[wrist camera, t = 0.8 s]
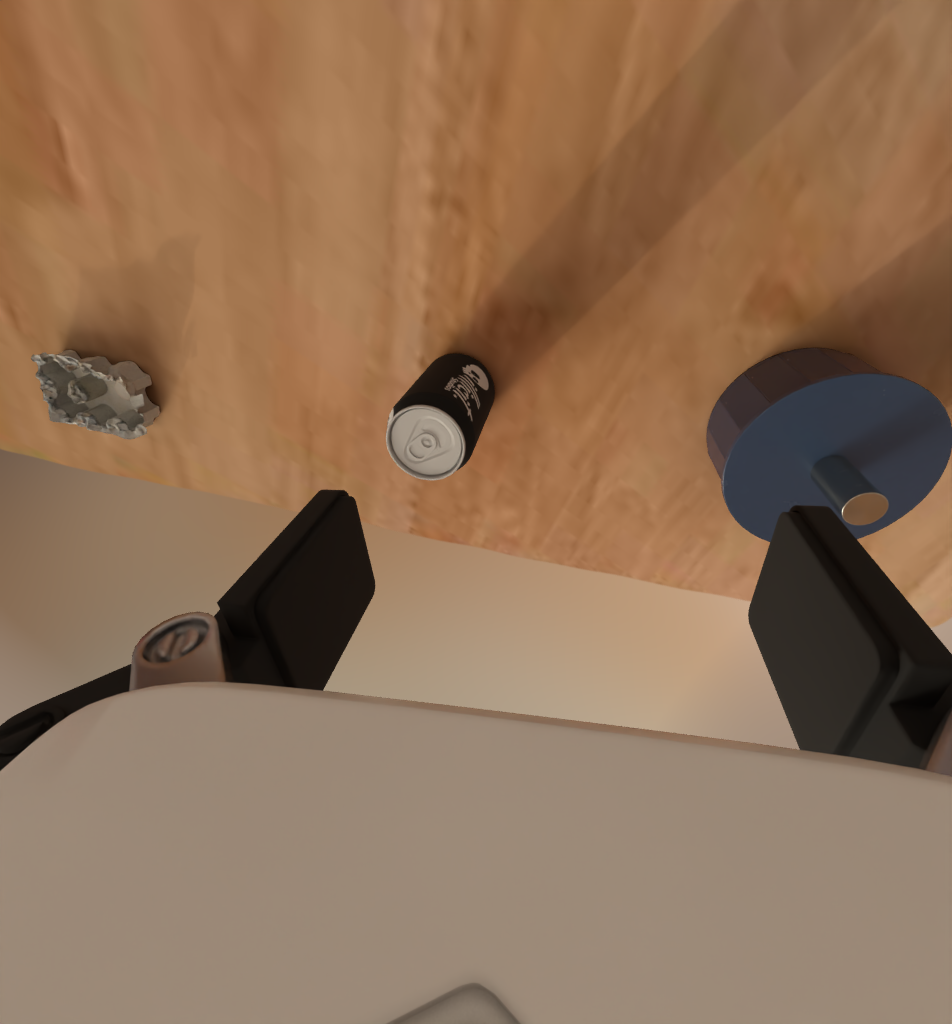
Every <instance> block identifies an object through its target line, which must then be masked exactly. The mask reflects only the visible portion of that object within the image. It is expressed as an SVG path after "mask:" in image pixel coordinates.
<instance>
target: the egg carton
mask: <svg viewBox="0 0 952 1024" xmlns="http://www.w3.org/2000/svg"><path fill="white" fill-rule="evenodd" d="M31 359H32V361H34V362H37V365H38V372H37V373H36V378H38V379H39V380H40V382H41V388H40V389H41V390H42V392H43V397H44V401H47V403H48V404H49V417H50V420H51V421H53V422H61V423H67V424H77V425H78V426H80V427H85V426H86V428H87V429H88V430H94V431H100V432H104V433H109V434H114V435H117V436H119V437H122V438H124V439H134V438H137V437H139V436H142V435H145V434H147V429H146V428H145V427H147V426H150V425H152V424H153V421H154V418H156V417H158V416H159V414H160V411H159V406H157V405H154V404H153V403H152V402H151V401H150V400H149V399H148V397H147V395H146V392H145V388H146V387H147V386H150V385H151V384H152V382H151V378H150V376H149V375H148V374H145V373H143V372H142V371H141V370H140V368H139V367H138V366H137V364H135V363H134V362H132V361H125V362H119V363H117V364H116V365H111V364H110V363H109V361H108V360H107V359H106V358H105V357H99V356H96V357H88V358H85V359H80V357H79V356H78V354H77V353H76V351H72V350H66V351H63V352H62V353H60V354H55V355H53V354H47V353H42V354H40V355H32V357H31Z"/></svg>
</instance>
